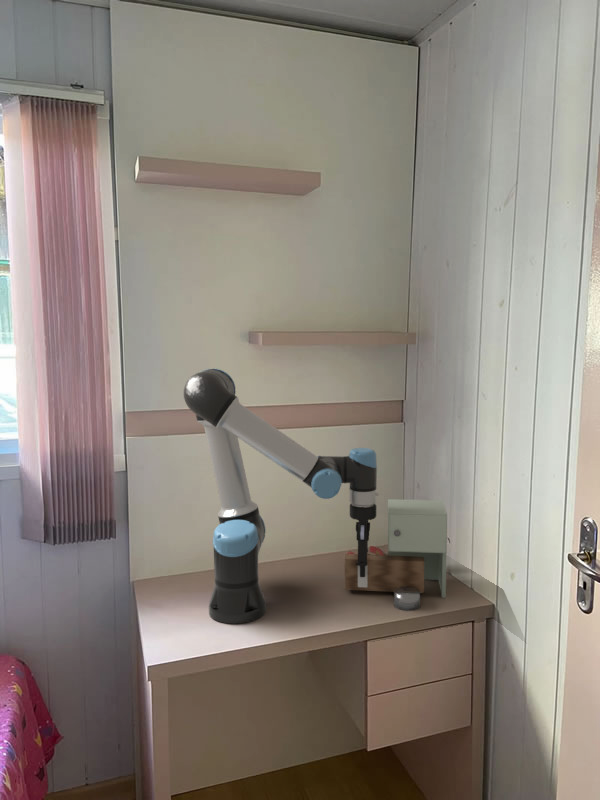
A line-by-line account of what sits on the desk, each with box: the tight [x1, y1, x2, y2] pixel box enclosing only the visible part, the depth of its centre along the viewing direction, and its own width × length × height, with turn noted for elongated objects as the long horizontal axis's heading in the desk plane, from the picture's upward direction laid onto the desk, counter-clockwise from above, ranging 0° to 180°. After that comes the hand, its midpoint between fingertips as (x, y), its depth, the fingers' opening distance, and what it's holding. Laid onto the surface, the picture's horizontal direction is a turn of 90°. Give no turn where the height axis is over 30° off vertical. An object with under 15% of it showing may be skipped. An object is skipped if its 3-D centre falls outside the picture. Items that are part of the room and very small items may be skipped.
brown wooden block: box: [344, 553, 425, 594], centre depth 183 cm, size 22×4×9 cm, turn 83°
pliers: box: [346, 545, 385, 555], centre depth 207 cm, size 12×20×3 cm, turn 32°
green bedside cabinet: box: [387, 498, 448, 599], centre depth 186 cm, size 16×16×24 cm
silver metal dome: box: [393, 586, 421, 612], centre depth 176 cm, size 7×7×4 cm
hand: (362, 583), depth 184 cm, fingers closed on brown wooden block, 4 cm apart
